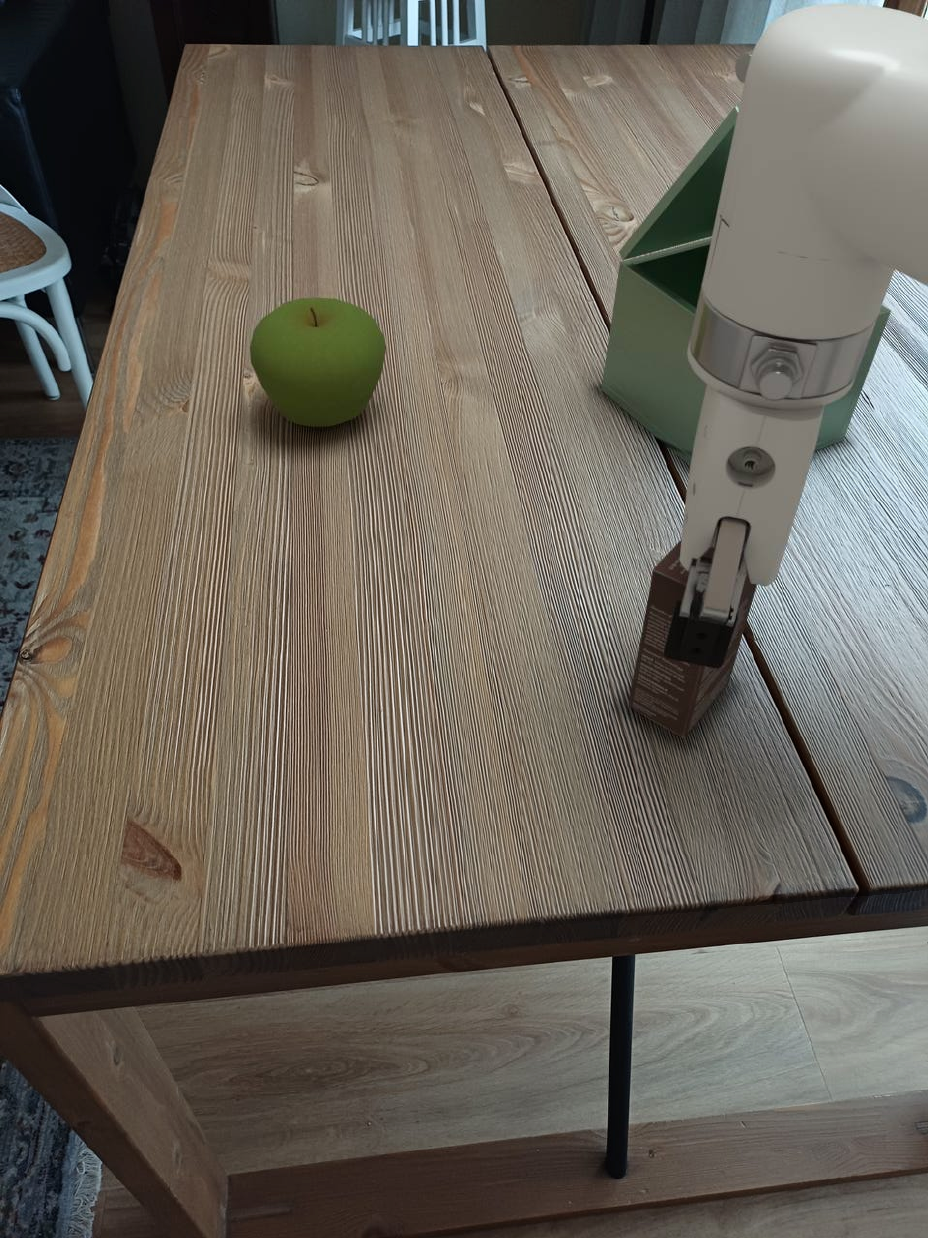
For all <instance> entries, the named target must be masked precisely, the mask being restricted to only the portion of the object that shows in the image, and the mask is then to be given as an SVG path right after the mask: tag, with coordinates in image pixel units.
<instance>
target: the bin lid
mask: <svg viewBox="0 0 928 1238" xmlns="http://www.w3.org/2000/svg"><path fill="white" fill-rule="evenodd" d="M752 53H753V50H751V51H745V52H742V53H741V54H740V55H739V56H738V57H737V59H736V61H735V67H734V68H735V69H734V70H735V76H736V78H737V80H738V81H739V82H741V83H742V84H744V83H745V78H746V74H747V70H748V67H749V63H750V59H751V55H752ZM739 106H740V104H739V105H735V106H734V107H733V108H732V110H730V112H729V113H728V114H727V115H726V117H725V118H724V119H723V121H721V124H719V126H718V127H717V128H716V129H715V131H714V132H713V133H712V135H711V136H710V137H709V138H708V140H707V141H706V142H705V143H704V145H703V146H701V148H700V149H699V150H698V151H697V153H696V154H695V156H694V157H693V158H692V159H691V160H690V161H689V163H688V165H687V166H686V167H685V168H684V170H682V172H681V173H680V174H679V175H678V177H677V178H676V179H675V181H674V182H673V183H672V184H671V186H670V187H669V188H668V189H667V191H666V192H665V193H664V195H663V196H662V197H661V198H660V199H659V201H658V202H657V203H656V204H655V206H654V207H653V208H652V209H651V211H650V212H649V213H648V215H646V217H645V218H644V220H643V221H642V222H641V223H640V224H639V226H638V227H637V228H636V230H635V231H634V232H633V233H632V235H631V236H630V237H629V238H628V239H627V241H626V242H625V243H624V244H623V246H622V247H621V248H620V250H619V251H618V253H619V256H620V257H621V260H622V261H626V260H630V259H634V258H637V257H641V256H645V255H649V254H652V253H656V252H660V251H663V250H667V249H671V248H675V247H678V246H682V245H686V244H690V243H693V242H697V241H701V240H704V239H708V238H712V234H713V229H714V225H715V220H716V215H717V210H718V205H719V200H720V195H721V191H722V186H723V181H724V177H725V172H726V167H727V163H728V158H729V153H730V148H731V144H732V139H733V134H734V130H735V125H736V120H737V116H738V111H739Z"/></svg>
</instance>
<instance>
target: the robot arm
mask: <svg viewBox="0 0 928 1238" xmlns="http://www.w3.org/2000/svg"><path fill="white" fill-rule="evenodd" d="M752 51H753V53H752V55H751V59H750V63H749V67H748V70H747V74H746V78H745V83H743V88H742V93H741V97H740V101H739V105H740V106H739V105H738V106H739V111H738V116H737V120H736V125H735V130H734V134H733V139H732V144H731V148H730V153H729V158H728V163H727V167H726V172H725V177H724V181H723V186H722V191H721V195H720V200H719V205H718V210H717V215H716V220H715V225H714V229H713V234H712V237H711V238H712V239H711V244H710V249H709V254H708V259H707V264H706V268H705V273H704V278H703V282H702V285H701V290H700V294H699V299H698V304H697V309H696V313H695V318H694V323H693V327H692V332H691V337H690V341H689V346H688V351H687V355H688V361H689V364H690V365H691V367H692V369H693V371H694V372H695V373H696V374H697V376H698V377H699V378H700V379H702V380H703V381H704V382H705V383H706V384H707V386H706V390H705V395H704V399H703V404H702V408H701V413H700V417H699V422H698V427H697V432H696V437H695V442H694V447H693V453H692V459H691V465H690V466H689V472H688V479H687V486H686V494H685V502H684V511H683V512H684V513H683V520H682V531H681V539H682V540H681V539H680V540H681V551H680V562H681V564H682V565H683V567H684V568H685V569H686V570H687V571H689V573H688V577H687V582H686V586H685V590H684V595H683V599H682V601H678V600H677V601H676V605H675V609H674V613H673V617H672V621H671V625H670V628H669V632H668V636H667V640H666V644H665V649H664V656H665V657H666V658H669V659H673V660H677V661H682V662H687V663H692V664H696V665H701V666H706V667H710V668H720V667H722V665H723V662H724V659H725V656H726V653H727V650H728V647H729V644H730V641H731V638H732V635H733V632H734V629H735V626H736V623H737V620H738V613H737V610H738V606H739V602H740V598H741V594H742V590H743V586H744V582H745V578H746V576H747V570H748V575H749V579H750V582H751V584H757V586H758V585H759V586H761V587H768V586H770V585H772V584H773V583H775V581H776V580H777V578H778V575H779V572H780V568H781V565H782V561H783V558H784V555H785V551H786V547H787V544H788V542H789V538H790V534H791V531H792V528H793V525H794V522H795V518H796V515H797V511H798V509H799V505H800V503H801V498H802V495H803V492H804V490H805V486H806V481H807V478H808V475H809V472H810V468H811V466H812V465H811V464H812V460H813V456H814V453H815V452H814V450H815V446H816V442H817V438H818V433H819V429H820V425H821V421H822V416H823V411H824V406H825V405H827V404H830V403H832V402H834V401H836V400H838V399H840V398H842V397H843V396H844V395H846V394H847V393H848V391H849V390H850V389H851V388H852V386H853V383H854V381H855V378H856V375H857V373H858V370H859V367H860V364H861V362H862V359H863V356H864V353H865V351H866V348H867V345H868V342H869V339H870V337H871V334H872V331H873V328H874V326H875V323H876V320H877V317H878V315H879V312H880V309H881V306H882V305H883V303H884V301H885V298H886V295H887V292H888V289H889V287H890V283H891V281H892V278H893V276H894V273H895V271H897V272H900V273H901V274H903V275H905V276H907V277H909V278H910V279H913V280H915V281H917V282H918V283H920V284H923V285H924V286H927V287H928V18H924V17H922V16H919V15H916V14H913V13H910V12H906V11H902V10H898V9H895V8H889V7H884V6H878V5H870V4H858V3H823V4H816V5H810V6H806V7H801V8H797V9H793V10H791V11H789V12H786V13H785V14H783V15H781V16H780V17H778V18H777V19H775V20H774V21H772V22H770V24H769V25H768V27H766V28H765V29H764V31H763V33H762V34H761V36H760V37H759V39H758V40H757V42H756V44H755V46H754V48H753V50H752ZM710 547H711V548H714V550H713V555H712V558H709V557H703V556H702V555H703V554H704V553H705V552H706V551H707V550H708V549H709V548H710ZM741 553H742V554H741ZM740 557H741V558H740ZM700 573H704V574H708V579H707V584H706V588H705V592H704V594H703V596H700V595H696V596H695V593H696V589H697V584H698V580H699V576H700Z"/></svg>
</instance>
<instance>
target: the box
mask: <svg viewBox="0 0 928 1238" xmlns="http://www.w3.org/2000/svg"><path fill="white" fill-rule="evenodd" d="M681 540H682V538H681V539H680V540H679V541H678V542H677V543H676V544H675V546H673V547H672V548H671V549H670V550H669V551H668V552H667V554H666V555H664V557H663V558H662V559H661V560H660V561H659V562H658V563H657V564H656V565H655V566H654V567H652V572H651V579H650V584H649V585H650V586H649V590H648V597H647V602H646V607H645V613H644V617H643V618H644V619H643V624H642V630H641V636H640V642H639V644H638V645H639V646H638V650H637V651H638V652H637V656H636V661H635V666H634V672H633V677H632V682H631V688H630V692H629V693H630V694H629V700H628V703H627V704H628V707H629V708H631V709H633V710H634V711H635V712H637V713H638V714H640V715H642V716H644V717H645V718H647V719H648V720H650V721H652V722H654V723H655V724H656V725H658V726H660V727H662V728H664V729H665V730H667V731H670V732H671V733H673V734H675V735H677V736H678V737H681V738H682V739H683V738H687V736H688V735H689V734H690V732H691V731H692V730H693V729H694V728H695V726H697V724H698V723H699V721H700V720H701V719H702V718H703V717H704V715H705V714H707V712H708V710H709V709H710V708H711V707H712V705H713V704H714V703H715V702H716V701H717V699H718V698H719V696H720V695H721V694H722V693H723V691H724V690H725V689H726V688H727V686H728V685H729V683H730V679H731V677H732V673H733V670H734V667H735V663H736V660H737V656H738V652H739V649H740V646H741V642H742V638H743V635H744V631H745V628H746V625H747V620H748V618H749V614H750V611H751V607H752V604H753V600H754V598H755V597H754V596H755V593H756V591H757V587H758V584H751V582H750V579H749V575H748V570H747V576H746V578H745V582H744V586H743V590H742V594H741V598H740V602H739V606H738V610H737V613H738V620H737V623H736V626H735V629H734V632H733V635H732V638H731V641H730V644H729V647H728V650H727V653H726V656H725V659H724V662H723V665H722V667H720V668H710V667H706V666H701V665H696V664H692V663H687V662H682V661H677V660H673V659H669V658H666V657H665V656H664V649H665V644H666V640H667V636H668V632H669V628H670V625H671V621H672V617H673V613H674V609H675V605H676V601H677V600H678V601H682V599H683V595H684V590H685V586H686V582H687V577H688V573H689V571H687V570H686V569H685V568H684V567H683V565H682V564H681V562H680V551H681ZM713 550H714V548H711V547H710V548H709V549H708V550H707V551H706V552H705V553H704V554H703V555H702V556H703V557H709V558H712V555H713ZM741 554H742V553H741ZM740 558H741V557H740ZM707 579H708V574H704V573H700V576H699V580H698V584H697V589H696V593H695V596H696V595H700V596H703V594H704V592H705V588H706V584H707Z"/></svg>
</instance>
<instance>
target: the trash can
mask: <svg viewBox="0 0 928 1238" xmlns="http://www.w3.org/2000/svg"><path fill="white" fill-rule="evenodd" d="M711 239H712V237H708V238H704V239H700V240H697V241H693V242H689V243H685V244H682V245H678V246H674V247H671V248H667V249H663V250H659V251H656V252H652V253H648V254H644V255H641V256H637V257H633V258H629V259H626V260H622V261H619V265H618V274H617V279H616V286H615V293H614V301H613V306H612V307H613V308H612V314H611V322H610V328H609V336H608V342H607V349H606V356H605V363H604V368H603V377H602V384H601V389H600V390H601V391H602V392H603V393H604V395H606V396H608V398H610V399H611V400H612V401H613V402H615V403H616V404H617V405H618V406H619V407H620V408H621V409H623V410H624V411H625V412H626V413H627V414H628V415H630V416H631V417H632V418H633V419H634V420H635V421H637V422H638V423H639V424H640V425H641V426H642V427H644V428H645V430H647V431H648V432H650V433H651V435H653V436H654V437H655V438H656V439H658V440H659V441H660V442H661V443H662V444H663V445H664V446H665V447H666V448H668V449H669V450H670V451H671V452H673V453H674V454H675V455H676V456H677V457H678V458H680V459H681V460H682V461H683V462H684V463H685V464H686V465H688V466H689V467H690V465H691V459H692V453H693V447H694V442H695V437H696V432H697V427H698V422H699V417H700V413H701V408H702V404H703V399H704V395H705V390H706V386H707V384H706V383H705V382H704V381H703V380H702V379H700V378H699V377H698V376H697V374H696V373H695V372H694V371H693V369H692V367H691V365H690V364H689V361H688V355H687V351H688V346H689V341H690V337H691V332H692V327H693V323H694V318H695V313H696V309H697V304H698V299H699V294H700V290H701V285H702V282H703V278H704V273H705V268H706V264H707V259H708V254H709V249H710V244H711ZM891 312H892V310H891V309H890V308H888V307H886V306H885V305H883V304H882V306H881V309H880V312H879V315H878V317H877V320H876V323H875V326H874V328H873V331H872V334H871V337H870V339H869V342H868V345H867V348H866V351H865V353H864V356H863V359H862V362H861V364H860V367H859V370H858V373H857V375H856V378H855V381H854V383H853V386H852V388H851V389H850V390H849V391H848V393H847V394H846V395H844V396H843V397H842V398H840V399H838V400H836V401H834V402H832V403H830V404H827V405H825V406H824V411H823V416H822V421H821V425H820V429H819V433H818V438H817V442H816V446H815V450H814V453H815V452H817V451H819V450H822V449H825V448H827V447H830V446H832V445H835V444H838V443H840V442H842V441H843V442H844V440H845V437H846V434H847V431H848V428H849V426H850V423H851V420H852V418H853V415H854V413H855V410H856V407H857V404H858V401H859V399H860V396H861V394H862V391H863V388H864V386H865V384H866V383H865V382H866V380H867V377H868V375H869V372H870V369H871V367H872V364H873V361H874V358H875V355H876V353H877V351H878V348H879V345H880V343H881V339H882V337H883V334H884V332H885V328H886V326H887V324H888V320H889V317H890V315H891Z"/></svg>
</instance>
